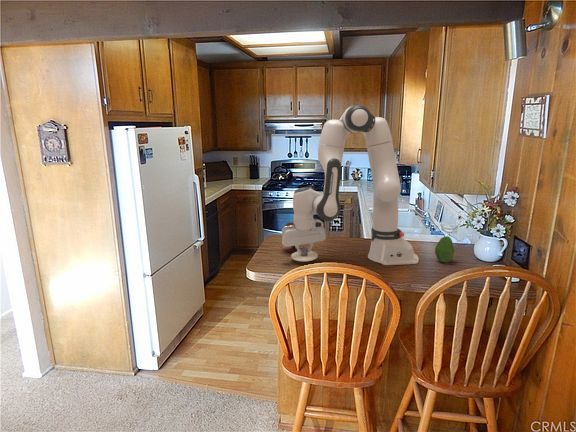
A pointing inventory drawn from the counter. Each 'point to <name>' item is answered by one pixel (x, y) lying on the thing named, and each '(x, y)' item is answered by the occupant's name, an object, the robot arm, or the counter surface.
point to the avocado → (444, 249)
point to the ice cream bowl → (292, 246)
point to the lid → (304, 255)
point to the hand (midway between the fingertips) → (304, 252)
